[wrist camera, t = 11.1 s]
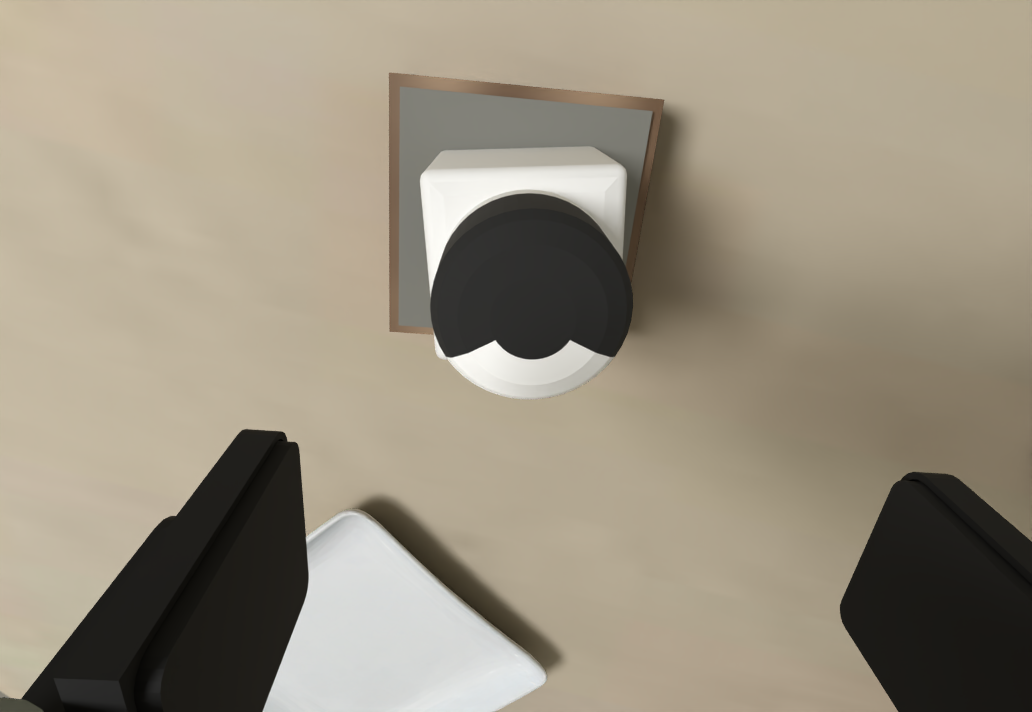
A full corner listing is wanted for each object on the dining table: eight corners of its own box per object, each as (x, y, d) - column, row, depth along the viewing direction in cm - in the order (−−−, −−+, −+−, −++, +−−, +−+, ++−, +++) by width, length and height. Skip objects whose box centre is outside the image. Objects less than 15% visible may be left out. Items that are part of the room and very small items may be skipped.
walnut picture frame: (644, 97, 29) (666, 99, 25) (607, 321, 34) (620, 350, 30) (402, 73, 28) (387, 72, 25) (400, 306, 33) (388, 333, 30)
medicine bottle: (437, 149, 26) (393, 196, 15) (597, 145, 26) (668, 188, 15) (449, 301, 29) (420, 431, 18) (592, 296, 29) (648, 422, 18)
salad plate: (552, 644, 46) (556, 685, 43) (356, 752, 51) (347, 796, 48) (363, 472, 38) (351, 506, 35) (156, 619, 44) (130, 660, 40)
